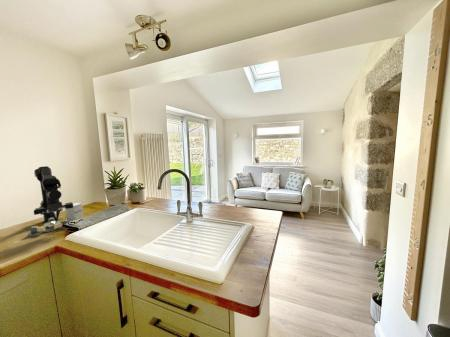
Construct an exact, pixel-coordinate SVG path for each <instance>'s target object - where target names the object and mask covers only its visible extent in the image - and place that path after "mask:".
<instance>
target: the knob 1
mask: <svg viewBox="0 0 450 337" xmlns="http://www.w3.org/2000/svg"><path fill="white" fill-rule="evenodd" d="M38 231H45V226H39V225H33V226H31V227H30V228H29V233H36V232H38Z"/></svg>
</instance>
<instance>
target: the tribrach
mask: <svg viewBox="0 0 450 337" xmlns="http://www.w3.org/2000/svg"><path fill="white" fill-rule="evenodd" d="M57 223H59V221H50V222H44V227H45V231H38V232H36V233H30V232H28V233H27V236H29V237H32V238H33V237H36V236H39V235H42V234H46V233H50V232H55V231H57V230H59V231H60V230H68V228H65V227H63V226H61V227H58V228H56V229H55V228H54V225H55V224H57Z"/></svg>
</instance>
